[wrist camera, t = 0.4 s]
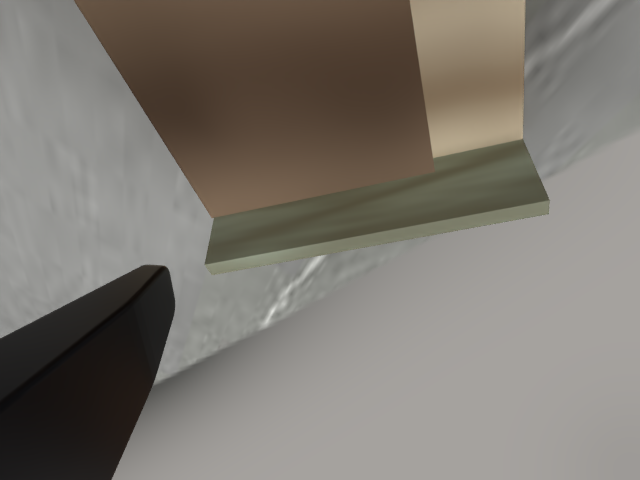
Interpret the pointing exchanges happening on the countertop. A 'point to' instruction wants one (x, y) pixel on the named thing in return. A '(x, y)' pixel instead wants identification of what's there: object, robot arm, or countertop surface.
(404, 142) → the walnut block
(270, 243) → the trap lane
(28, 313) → the countertop surface
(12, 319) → the countertop surface
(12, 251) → the countertop surface
